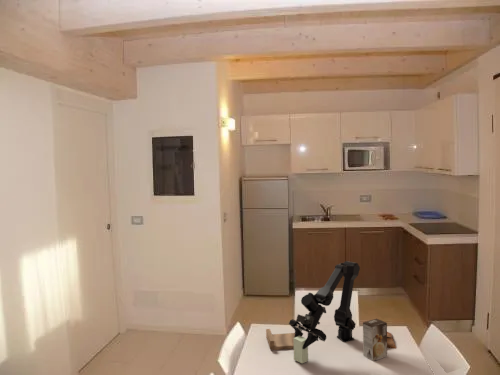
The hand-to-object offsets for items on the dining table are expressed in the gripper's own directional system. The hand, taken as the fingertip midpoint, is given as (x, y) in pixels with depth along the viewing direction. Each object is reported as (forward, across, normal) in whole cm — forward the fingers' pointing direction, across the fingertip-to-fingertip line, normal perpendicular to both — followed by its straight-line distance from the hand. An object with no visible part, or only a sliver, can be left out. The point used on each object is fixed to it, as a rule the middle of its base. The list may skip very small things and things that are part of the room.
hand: (298, 346), depth 175 cm
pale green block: (+4, 0, +6) cm, 7 cm away
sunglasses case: (-28, +15, +40) cm, 51 cm away
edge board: (-1, -18, +12) cm, 22 cm away
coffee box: (-16, +20, +26) cm, 37 cm away
